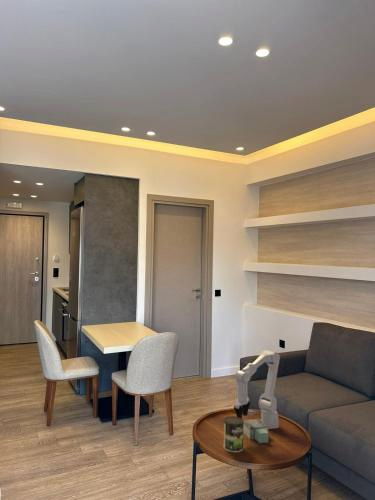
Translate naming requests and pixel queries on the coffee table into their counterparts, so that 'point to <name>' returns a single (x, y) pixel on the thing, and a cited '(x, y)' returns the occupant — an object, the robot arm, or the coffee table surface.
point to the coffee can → (233, 434)
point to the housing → (253, 427)
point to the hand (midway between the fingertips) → (242, 417)
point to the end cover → (261, 435)
